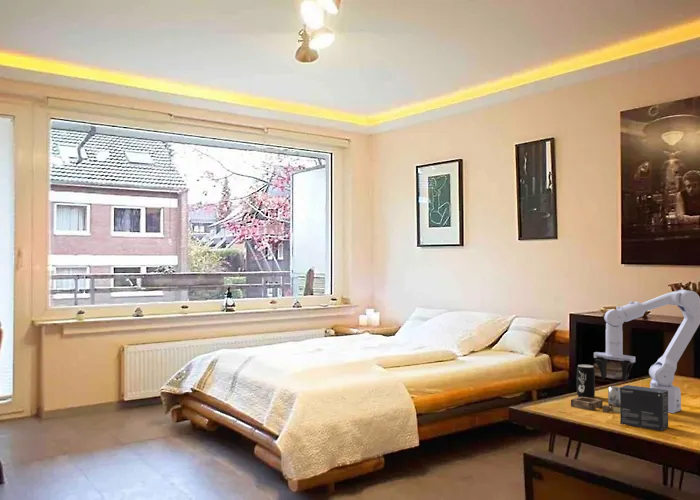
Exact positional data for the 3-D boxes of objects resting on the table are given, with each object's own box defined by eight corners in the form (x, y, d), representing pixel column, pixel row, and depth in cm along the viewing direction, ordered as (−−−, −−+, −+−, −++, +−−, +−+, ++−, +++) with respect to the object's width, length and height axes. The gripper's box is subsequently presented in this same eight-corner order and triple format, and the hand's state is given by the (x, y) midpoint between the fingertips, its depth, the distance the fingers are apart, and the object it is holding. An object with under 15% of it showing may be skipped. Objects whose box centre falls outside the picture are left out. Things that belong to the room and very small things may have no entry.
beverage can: (596, 398, 235) (596, 367, 236) (578, 397, 237) (578, 366, 237) (593, 395, 242) (592, 364, 242) (575, 394, 243) (575, 364, 243)
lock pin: (634, 414, 211) (634, 404, 211) (631, 415, 209) (631, 405, 209) (608, 410, 217) (608, 399, 218) (605, 410, 216) (605, 400, 216)
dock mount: (616, 409, 218) (616, 402, 218) (606, 413, 213) (606, 406, 213) (581, 403, 228) (581, 396, 228) (570, 406, 223) (570, 399, 223)
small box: (669, 427, 196) (669, 389, 196) (663, 431, 190) (662, 393, 191) (626, 419, 204) (626, 384, 205) (619, 423, 199) (619, 387, 199)
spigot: (622, 406, 223) (622, 387, 223) (617, 408, 220) (617, 388, 220) (611, 404, 226) (611, 385, 226) (606, 406, 223) (606, 387, 223)
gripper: (589, 341, 226) (589, 378, 226) (629, 345, 215) (629, 384, 215) (598, 339, 231) (598, 375, 230) (637, 343, 220) (637, 381, 220)
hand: (614, 379), depth 223 cm, fingers open, 7 cm apart
